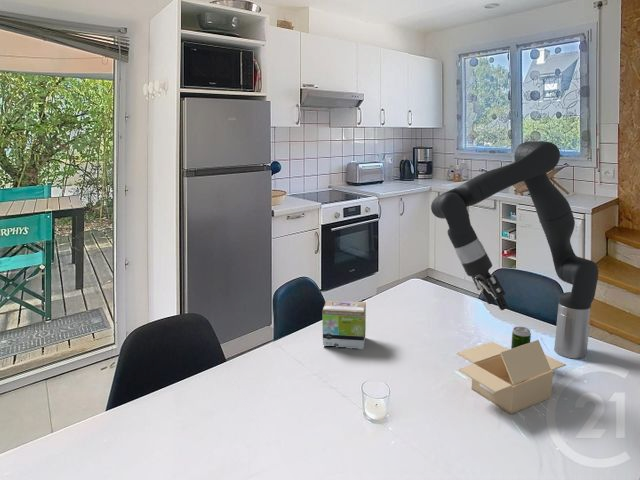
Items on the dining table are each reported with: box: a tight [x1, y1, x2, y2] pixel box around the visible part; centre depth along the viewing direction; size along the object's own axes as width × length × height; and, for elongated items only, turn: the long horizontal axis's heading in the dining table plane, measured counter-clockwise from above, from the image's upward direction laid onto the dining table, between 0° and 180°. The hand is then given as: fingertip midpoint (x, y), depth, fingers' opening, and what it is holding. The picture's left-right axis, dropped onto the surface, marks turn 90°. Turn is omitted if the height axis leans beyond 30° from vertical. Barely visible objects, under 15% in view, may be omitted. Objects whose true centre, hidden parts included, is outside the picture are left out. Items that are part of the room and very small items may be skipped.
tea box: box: [321, 299, 367, 350], centre depth 158 cm, size 15×10×15 cm, turn 81°
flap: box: [500, 339, 551, 385], centre depth 119 cm, size 15×1×8 cm, turn 116°
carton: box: [456, 341, 567, 415], centre depth 127 cm, size 28×21×8 cm
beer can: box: [510, 326, 532, 349], centre depth 139 cm, size 5×5×12 cm
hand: (497, 305), depth 126 cm, fingers open, 8 cm apart
